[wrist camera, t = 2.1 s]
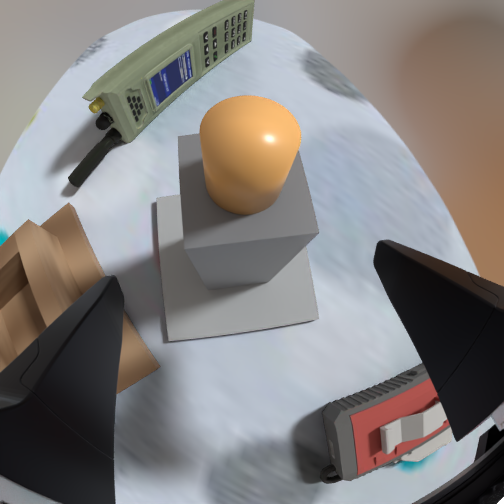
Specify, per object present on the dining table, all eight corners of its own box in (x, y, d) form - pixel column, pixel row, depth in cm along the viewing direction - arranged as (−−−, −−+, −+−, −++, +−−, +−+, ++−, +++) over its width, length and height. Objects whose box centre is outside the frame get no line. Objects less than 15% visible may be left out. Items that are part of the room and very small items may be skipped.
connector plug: (268, 282, 19) (352, 198, 6) (207, 290, 18) (167, 217, 5) (259, 224, 19) (309, 77, 7) (200, 231, 19) (167, 84, 6)
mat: (317, 319, 19) (319, 318, 18) (170, 340, 17) (168, 341, 17) (290, 185, 21) (292, 182, 20) (158, 200, 20) (156, 197, 19)
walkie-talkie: (319, 491, 16) (485, 399, 18) (337, 519, 11) (514, 403, 14) (303, 406, 17) (482, 324, 20) (323, 426, 13) (513, 321, 16)
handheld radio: (256, 43, 26) (90, 200, 20) (232, 36, 26) (69, 183, 20) (260, -3, 19) (49, 156, 13) (234, -8, 20) (30, 140, 13)
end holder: (160, 366, 17) (138, 381, 12) (42, 436, 14) (9, 453, 9) (74, 207, 19) (43, 179, 14) (-21, 295, 16) (-56, 287, 11)
